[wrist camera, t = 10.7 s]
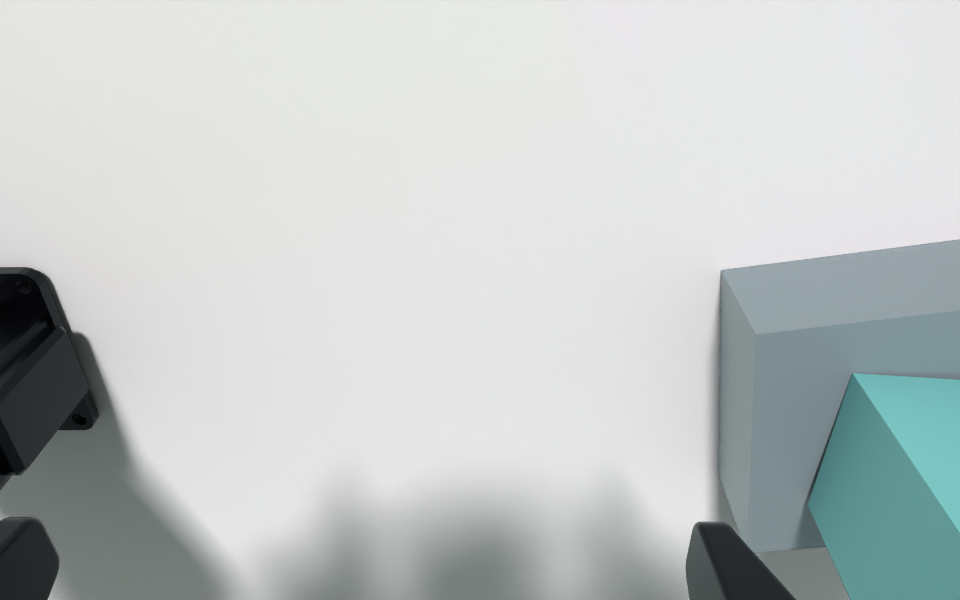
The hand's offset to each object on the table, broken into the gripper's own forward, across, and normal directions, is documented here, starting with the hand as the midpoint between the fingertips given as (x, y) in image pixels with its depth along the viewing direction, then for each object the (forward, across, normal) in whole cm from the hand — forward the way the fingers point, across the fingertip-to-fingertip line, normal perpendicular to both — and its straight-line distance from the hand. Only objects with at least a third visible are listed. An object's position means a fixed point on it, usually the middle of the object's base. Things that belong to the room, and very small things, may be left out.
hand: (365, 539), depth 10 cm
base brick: (+14, -14, +7) cm, 21 cm away
